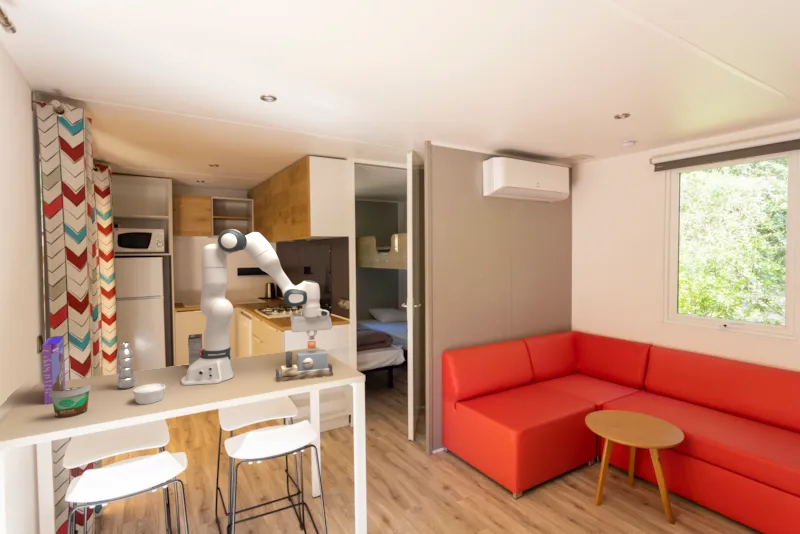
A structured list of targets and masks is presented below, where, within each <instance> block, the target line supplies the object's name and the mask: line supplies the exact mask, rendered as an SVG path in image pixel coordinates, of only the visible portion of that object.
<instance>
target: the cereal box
mask: <svg viewBox="0 0 800 534" xmlns="http://www.w3.org/2000/svg"><path fill="white" fill-rule="evenodd" d="M65 368H66V367H65V337H64V335H55V336H49V337H47V339H46V340H45V341H44V342H43V344H42V370H43V372H42V373H43V396H44V399H43V400H44V405H45V404H46V405H51V404H52V405H53V401H52V397H50V396H49V394H50V391H51V390H52V391H60V390H65V389H66V369H65Z"/></svg>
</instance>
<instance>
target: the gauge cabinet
mask: <svg viewBox="0 0 800 534" xmlns="http://www.w3.org/2000/svg"><path fill="white" fill-rule="evenodd" d="M296 366H297V368H298V371H306V370H316V369H325V368H328V352H327V351H326V350H325V349H316V350H315V349H314V350H305V351H296Z"/></svg>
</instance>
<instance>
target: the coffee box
mask: <svg viewBox="0 0 800 534" xmlns="http://www.w3.org/2000/svg"><path fill="white" fill-rule="evenodd" d="M187 339H188V342H187V343H188V344H187V345H188V367H189V366H190V365H191V364H193V363H194V362H195V361H196V360H198V359H199V358H200V352H199V351H200V349H203V335H202V333H198V334H197V333H193V334H189V335H188V337H187Z"/></svg>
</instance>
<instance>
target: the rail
mask: <svg viewBox="0 0 800 534" xmlns="http://www.w3.org/2000/svg"><path fill="white" fill-rule="evenodd" d="M331 375H333V376H334V373H333V365H332V364H331V363H327V368H325V369H316V370H306V371H298V373H297V375H294V376H284V377H282V373H280V370H279V368H275V378H276V382H277V383H280V382H281V381H282V382H288V381H289V380H291V381H298V380H297V379H300V380H306V379H305V378H309V379H315V378H314V377H318V378H324V377H323V376H326V377H332V376H331ZM282 382H281V383H282Z"/></svg>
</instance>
